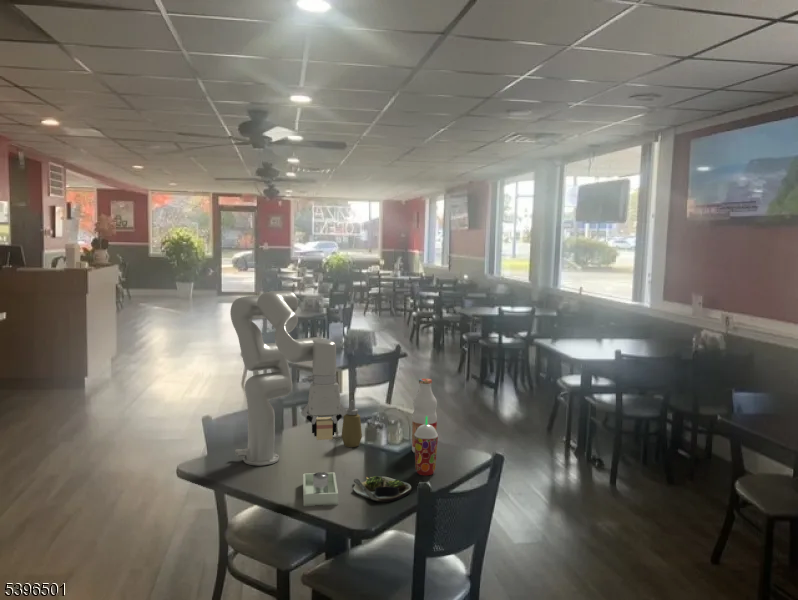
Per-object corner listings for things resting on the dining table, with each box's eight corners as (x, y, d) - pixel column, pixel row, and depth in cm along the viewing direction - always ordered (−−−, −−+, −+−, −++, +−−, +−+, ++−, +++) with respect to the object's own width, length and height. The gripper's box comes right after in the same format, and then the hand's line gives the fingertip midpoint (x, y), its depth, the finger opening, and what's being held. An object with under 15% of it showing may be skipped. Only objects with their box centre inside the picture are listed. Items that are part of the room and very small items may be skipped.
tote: (303, 506, 194) (303, 494, 194) (303, 484, 212) (303, 473, 212) (338, 504, 196) (338, 493, 196) (334, 482, 214) (334, 472, 213)
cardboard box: (316, 440, 205) (316, 421, 205) (315, 435, 210) (315, 417, 210) (332, 439, 206) (332, 421, 206) (331, 434, 211) (331, 416, 211)
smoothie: (424, 467, 230) (426, 412, 228) (442, 473, 224) (443, 417, 223) (408, 472, 224) (409, 416, 223) (425, 479, 219) (427, 421, 217)
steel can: (313, 500, 198) (313, 477, 197) (312, 494, 202) (313, 472, 202) (328, 499, 198) (328, 477, 198) (327, 493, 203) (328, 471, 202)
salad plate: (336, 491, 207) (336, 477, 207) (374, 476, 221) (374, 463, 220) (381, 508, 195) (381, 493, 194) (418, 491, 208) (418, 477, 208)
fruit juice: (407, 449, 250) (408, 378, 247) (428, 446, 254) (430, 376, 251) (419, 456, 241) (420, 383, 239) (440, 453, 246) (442, 381, 243)
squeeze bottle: (353, 440, 259) (353, 396, 257) (366, 445, 253) (366, 400, 251) (337, 444, 254) (337, 400, 252) (349, 450, 248) (350, 404, 246)
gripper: (297, 382, 201) (297, 439, 203) (352, 381, 205) (351, 437, 206) (297, 377, 209) (297, 432, 210) (349, 376, 212) (349, 430, 213)
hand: (324, 434), depth 208 cm, fingers closed on cardboard box, 5 cm apart
